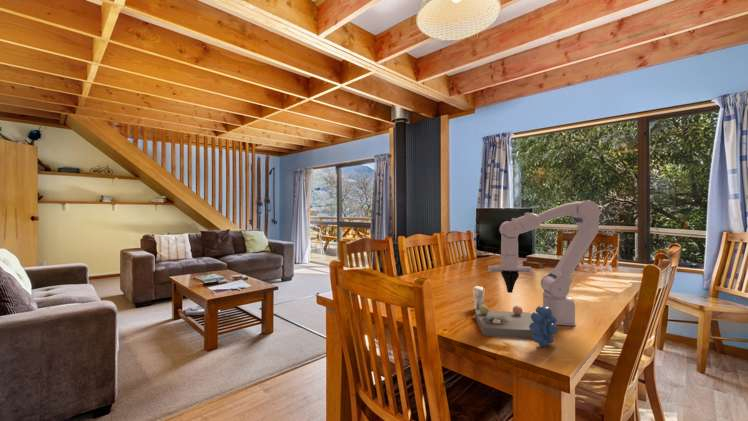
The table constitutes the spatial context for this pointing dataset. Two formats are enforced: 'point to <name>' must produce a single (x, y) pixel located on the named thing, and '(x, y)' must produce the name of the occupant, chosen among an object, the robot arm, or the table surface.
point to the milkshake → (478, 297)
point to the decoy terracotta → (517, 310)
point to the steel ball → (496, 321)
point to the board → (505, 324)
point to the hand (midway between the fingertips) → (509, 292)
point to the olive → (484, 309)
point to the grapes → (543, 326)
